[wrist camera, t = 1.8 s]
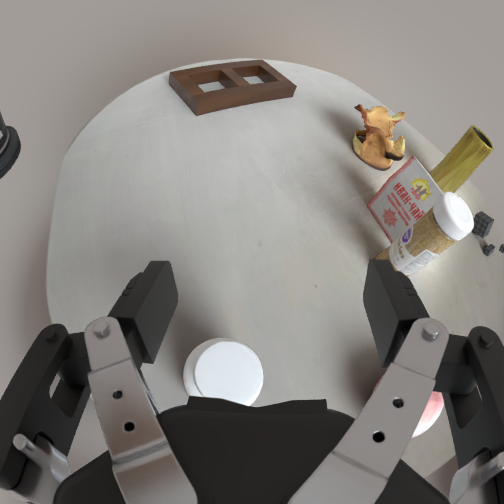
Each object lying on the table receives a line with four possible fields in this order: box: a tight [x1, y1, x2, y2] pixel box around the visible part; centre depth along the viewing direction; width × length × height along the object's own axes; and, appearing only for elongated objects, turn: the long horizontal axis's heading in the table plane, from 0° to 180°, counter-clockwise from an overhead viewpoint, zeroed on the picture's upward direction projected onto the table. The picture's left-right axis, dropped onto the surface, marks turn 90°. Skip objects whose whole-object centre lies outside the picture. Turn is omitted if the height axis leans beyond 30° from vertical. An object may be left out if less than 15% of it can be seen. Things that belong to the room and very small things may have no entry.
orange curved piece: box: [352, 105, 405, 171], centre depth 42 cm, size 12×10×8 cm
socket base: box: [169, 60, 296, 116], centre depth 45 cm, size 11×19×2 cm, turn 124°
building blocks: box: [472, 211, 504, 256], centre depth 41 cm, size 3×6×8 cm
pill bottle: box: [183, 338, 263, 406], centre depth 20 cm, size 6×5×10 cm
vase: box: [429, 125, 493, 193], centre depth 40 cm, size 6×6×14 cm
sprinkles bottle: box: [376, 192, 474, 277], centre depth 29 cm, size 5×5×13 cm
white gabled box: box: [367, 156, 444, 243], centre depth 34 cm, size 4×7×10 cm, turn 26°
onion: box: [373, 375, 444, 438], centre depth 23 cm, size 8×8×7 cm
